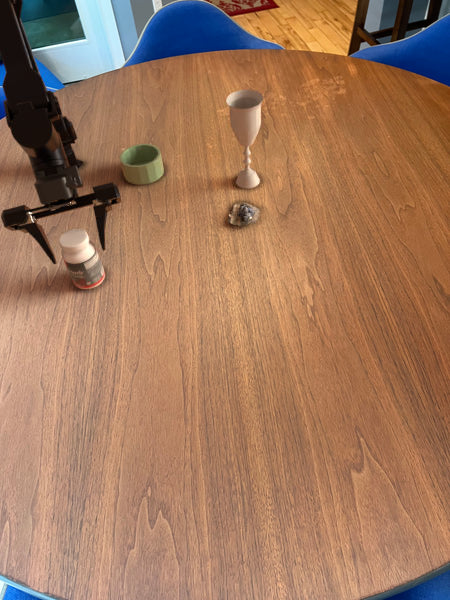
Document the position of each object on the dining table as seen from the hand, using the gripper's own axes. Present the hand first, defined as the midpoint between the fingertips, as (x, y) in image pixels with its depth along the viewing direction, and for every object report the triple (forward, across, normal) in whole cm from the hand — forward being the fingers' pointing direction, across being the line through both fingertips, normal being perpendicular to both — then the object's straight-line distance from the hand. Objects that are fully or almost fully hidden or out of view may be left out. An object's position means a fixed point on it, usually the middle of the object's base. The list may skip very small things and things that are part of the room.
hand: (79, 257), depth 80 cm
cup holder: (-16, +16, +25) cm, 34 cm away
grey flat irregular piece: (0, +31, +10) cm, 33 cm away
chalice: (-7, +36, +17) cm, 40 cm away
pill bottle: (+4, 0, +6) cm, 7 cm away
